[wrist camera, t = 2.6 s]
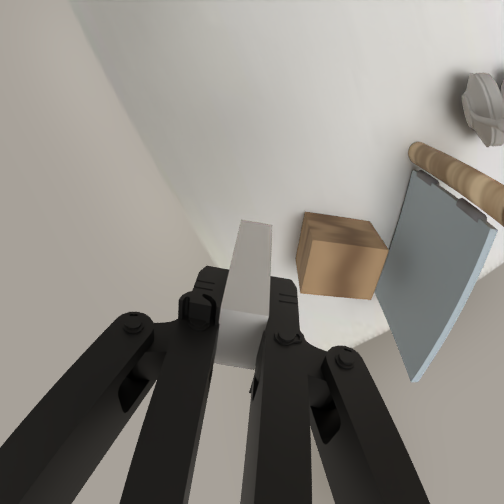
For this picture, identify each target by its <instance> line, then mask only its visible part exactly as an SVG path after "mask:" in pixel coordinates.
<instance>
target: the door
mask: <svg viewBox="0 0 504 504" xmlns="http://www.w3.org/2000/svg"><path fill="white" fill-rule="evenodd" d="M497 231H498V230H497V229H496V228H495V227H493V226H492V225H491V224H490V223H488V222H487V217H486V215H485V214H483V213H482V212H481V211H479V210H478V209H477V208H476V207H474V206H473V205H472V204H470V203H469V202H467V201H466V200H465V199H463V198H460V199H458V198H456V197H455V196H454V195H452V194H451V193H449V192H448V191H447V190H445V189H444V188H442V187H441V186H440V185H439V182H438V180H436V179H435V178H433V177H432V176H430V175H429V174H427V173H426V172H424V171H422V170H419V171H415V170H413V171H412V175H411V179H410V183H409V186H408V190H407V194H406V197H405V201H404V205H403V208H402V212H401V215H400V218H399V222H398V225H397V228H396V231H395V235H394V238H393V241H392V244H391V247H390V250H389V253H388V256H387V259H386V262H385V265H384V267H383V270H382V273H381V276H380V279H379V281H378V284H377V287H376V289H375V294H376V296H377V298H378V301H379V303H380V305H381V308H382V310H383V312H384V315H385V317H386V319H387V322H388V324H389V327H390V329H391V331H392V334H393V336H394V339H395V341H396V344H397V346H398V349H399V351H400V354H401V357H402V359H403V362H404V364H405V367H406V370H407V372H408V375H409V378H410V381H411V382H418V381H419V380H420V378H421V377H422V375H423V374H424V372H425V371H426V369H427V368H428V366H429V365H430V363H431V362H432V360H433V359H434V357H435V355H436V354H437V352H438V351H439V349H440V347H441V346H442V344H443V342H444V341H445V339H446V337H447V336H448V334H449V332H450V331H451V329H452V327H453V325H454V323H455V322H456V320H457V318H458V316H459V314H460V312H461V311H462V309H463V307H464V305H465V303H466V301H467V299H468V297H469V295H470V293H471V291H472V289H473V287H474V285H475V283H476V281H477V279H478V276H479V274H480V272H481V270H482V268H483V265H484V263H485V261H486V258H487V256H488V254H489V251H490V249H491V246H492V244H493V241H494V239H495V236H496V234H497Z"/></svg>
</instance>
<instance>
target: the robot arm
mask: <svg viewBox="0 0 504 504" xmlns="http://www.w3.org/2000/svg"><path fill="white" fill-rule="evenodd" d="M271 245H272V225H269V224H263V223H258V222H252V221H246V220H241V223H240V227H239V231H238V235H237V240H236V244H235V248H234V252H233V257H232V261H231V265H230V269H229V270H228V269H222V268H217V267H211V266H206V267H205V268H203V269H202V270H201V271H200V272H199V274H198V277H197V280H196V282H195V285H194V288H193V291H191V292H187V293H185V294H184V295H182V296H181V298H180V299H179V311H178V319H176V320H175V321H172V322H166V323H153V321H152V320H151V318H150V317H149V316H147V315H146V314H144V313H140V312H128V313H125V314H122V315H121V316H119V317H118V318H117V319H116V320H115V321H114V322H113V323H112V324H111V325H110V326H109V327H108V328H107V329H106V330H105V331H104V332H103V333H102V334H101V335H100V336H99V337H98V338H97V339H96V340H95V342H94V343H93V344H92V345H91V346H90V347H89V348H88V349H87V350H86V351H85V352H84V353H83V354H82V355H81V356H80V358H79V359H78V360H77V361H76V362H75V363H74V364H73V365H72V366H71V367H70V368H69V369H68V370H67V372H66V373H65V374H64V375H63V376H62V377H61V378H60V379H59V380H58V381H57V383H56V384H55V385H54V386H53V387H52V388H51V389H50V390H49V391H48V393H47V394H46V395H45V396H44V397H43V398H42V399H41V401H40V402H39V403H38V404H37V405H36V406H35V407H34V409H33V410H32V411H31V412H30V413H29V414H28V416H27V417H26V418H25V419H24V420H23V421H22V422H21V424H20V425H19V426H18V427H17V428H16V429H15V431H14V432H13V433H12V434H11V435H10V437H9V438H8V439H7V440H6V441H5V443H4V444H3V445H2V446H1V448H0V504H71V503H72V502H73V501H74V499H75V498H76V496H77V495H78V493H79V492H80V490H81V489H82V488H83V486H84V485H85V483H86V482H87V480H88V478H89V477H90V476H91V474H92V473H93V471H94V470H95V468H96V467H97V465H98V464H99V463H100V461H101V460H102V458H103V457H104V455H105V454H106V452H107V451H108V450H109V448H110V447H111V445H112V444H113V442H114V441H115V439H116V438H117V436H118V435H119V433H120V432H121V431H122V429H123V428H124V426H125V425H126V423H127V422H128V421H129V419H130V418H131V416H132V415H133V413H134V412H135V411H136V409H137V408H138V406H139V405H140V403H141V402H142V400H143V399H144V397H145V396H146V395H147V393H148V392H149V390H150V389H151V387H152V386H153V384H154V383H155V381H156V380H157V382H156V385H155V389H154V391H153V394H152V397H151V401H150V404H149V406H148V410H147V413H146V416H145V419H144V422H143V425H142V429H141V432H140V435H139V439H138V442H137V445H136V448H135V452H134V455H133V458H132V462H131V465H130V469H129V472H128V475H127V479H126V482H125V486H124V490H123V493H122V497H121V500H120V504H188V500H189V494H190V489H191V483H192V478H193V472H194V467H195V461H196V456H197V451H198V445H199V440H200V435H201V429H202V424H203V419H204V413H205V408H206V403H207V398H208V392H209V388H210V383H211V377H212V371H213V364H214V363H217V364H222V365H228V366H234V367H240V368H246V369H253V370H254V369H255V375H254V378H253V382H252V385H251V388H250V391H249V393H251V404H250V413H249V423H248V434H247V444H246V454H245V464H244V473H243V483H242V493H241V502H240V504H312V474H311V438H310V426H311V429H312V432H313V436H314V439H315V441H316V445H317V448H318V451H319V454H320V457H321V460H322V464H323V467H324V470H325V473H326V476H327V479H328V482H329V486H330V489H331V492H332V495H333V498H334V501H335V504H430V502H429V500H428V498H427V495H426V493H425V491H424V488H423V486H422V484H421V481H420V479H419V477H418V475H417V472H416V470H415V468H414V465H413V463H412V461H411V459H410V457H409V454H408V452H407V450H406V448H405V446H404V443H403V441H402V439H401V437H400V435H399V432H398V430H397V428H396V426H395V424H394V422H393V420H392V418H391V416H390V414H389V411H388V409H387V407H386V405H385V403H384V401H383V399H382V397H381V395H380V393H379V391H378V389H377V387H376V385H375V383H374V381H373V379H372V377H371V375H370V373H369V371H368V369H367V367H366V365H365V363H364V361H363V359H362V357H361V356H360V355H359V354H358V352H356V351H355V350H353V349H352V348H349V347H346V346H335V347H332V348H331V349H329V350H328V352H327V351H324V350H322V349H319V348H316V347H314V346H312V345H311V344H309V343H308V342H307V341H306V340H305V338H304V335H303V334H302V333H301V332H300V326H299V311H298V298H297V287H296V286H295V284H294V283H293V281H292V280H290V279H284V278H278V277H273V276H270V274H271ZM255 365H256V366H255Z"/></svg>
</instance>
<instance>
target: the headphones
mask: <svg viewBox="0 0 504 504" xmlns="http://www.w3.org/2000/svg"><path fill="white" fill-rule="evenodd" d="M462 105H463V110H464V114H465V118H466V121H467V123H468V126H469V127H470V128H472V129H473V130H475V131H476V133H477V134H478V136H479V137H480V139H481V140H482V142H483V143H484V144H485V146H486V147H489V146H501V145H502V144H504V80H503V83H502V85H501V92H500V90H499V87H498V85H497V83H496V82H495V80H494V79H493V77H492V76H491V75H490V74H488V73H475V74H473V73H470V74H469V78H468V83H467V89H466V91H465V92H464V94H463V95H462Z"/></svg>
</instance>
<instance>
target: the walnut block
mask: <svg viewBox="0 0 504 504" xmlns="http://www.w3.org/2000/svg"><path fill="white" fill-rule="evenodd" d="M388 251H389V250H388V248H387V246H386V245H385V243H384V242H383V240H382V239H381V237H380V236H379V234H378V233H377V231H376V230H375V228H374V227H373V225H372V224H371V223H370V221H364V220H358V219H351V218H345V217H338V216H331V215H324V214H317V213H310V212H305V214H304V219H303V224H302V229H301V234H300V239H299V244H298V249H297V254H296V265H297V272H298V279H299V286H300V293H303V294H313V295H323V296H334V297H345V298H356V299H368V300H371V298H372V296H373V293H374V291H375V288H376V285H377V283H378V280H379V277H380V274H381V272H382V269H383V266H384V263H385V260H386V257H387V254H388Z"/></svg>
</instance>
